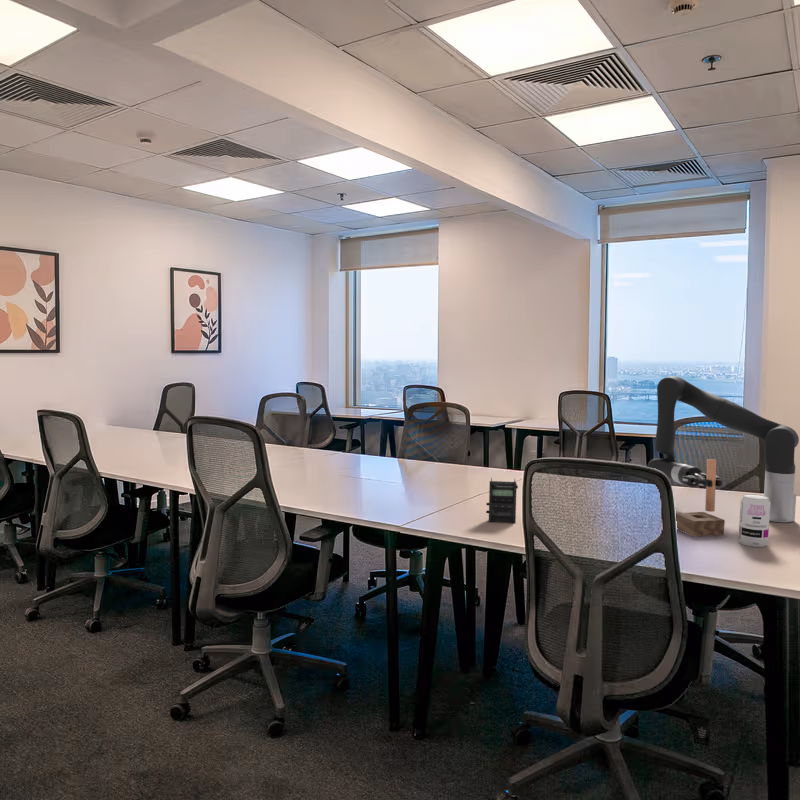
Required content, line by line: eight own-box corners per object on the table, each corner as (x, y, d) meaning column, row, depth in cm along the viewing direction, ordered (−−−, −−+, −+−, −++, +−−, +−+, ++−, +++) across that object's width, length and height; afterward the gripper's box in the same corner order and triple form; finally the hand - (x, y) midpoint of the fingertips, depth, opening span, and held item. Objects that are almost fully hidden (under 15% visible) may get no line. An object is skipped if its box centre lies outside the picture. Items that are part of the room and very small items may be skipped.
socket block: (703, 526, 237) (703, 511, 237) (723, 535, 227) (724, 520, 226) (673, 527, 235) (674, 513, 235) (693, 536, 225) (694, 521, 224)
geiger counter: (485, 522, 238) (486, 479, 237) (486, 519, 243) (487, 476, 241) (516, 524, 237) (518, 480, 236) (516, 521, 241) (517, 478, 240)
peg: (711, 509, 246) (712, 458, 245) (716, 511, 243) (718, 460, 242) (703, 509, 246) (705, 459, 244) (708, 511, 243) (710, 460, 241)
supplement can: (755, 539, 222) (758, 493, 220) (773, 547, 214) (776, 499, 212) (732, 540, 220) (735, 493, 219) (750, 548, 212) (752, 499, 211)
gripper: (669, 465, 256) (698, 473, 239) (703, 464, 259) (734, 472, 242) (669, 485, 257) (697, 495, 240) (703, 484, 259) (734, 493, 242)
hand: (716, 483), depth 241 cm, fingers closed on peg, 3 cm apart
